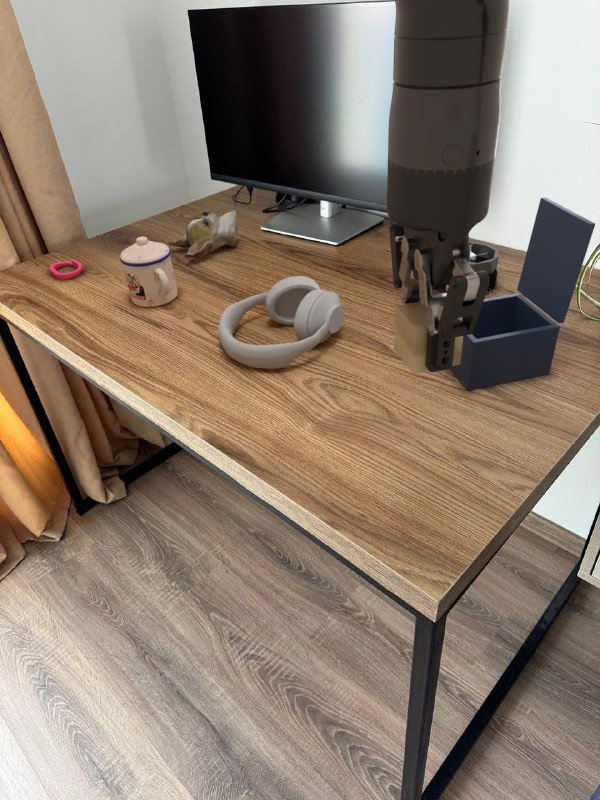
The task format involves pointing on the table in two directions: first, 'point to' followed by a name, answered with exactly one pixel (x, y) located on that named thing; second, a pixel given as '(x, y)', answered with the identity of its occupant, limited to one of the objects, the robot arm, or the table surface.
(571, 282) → the lid
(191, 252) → the ceramic sculpture
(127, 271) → the teacup with lid
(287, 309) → the headphones
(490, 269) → the cpu cooler
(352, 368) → the table surface
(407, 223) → the robot arm
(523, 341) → the chest
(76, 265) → the fitness band
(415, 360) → the block
